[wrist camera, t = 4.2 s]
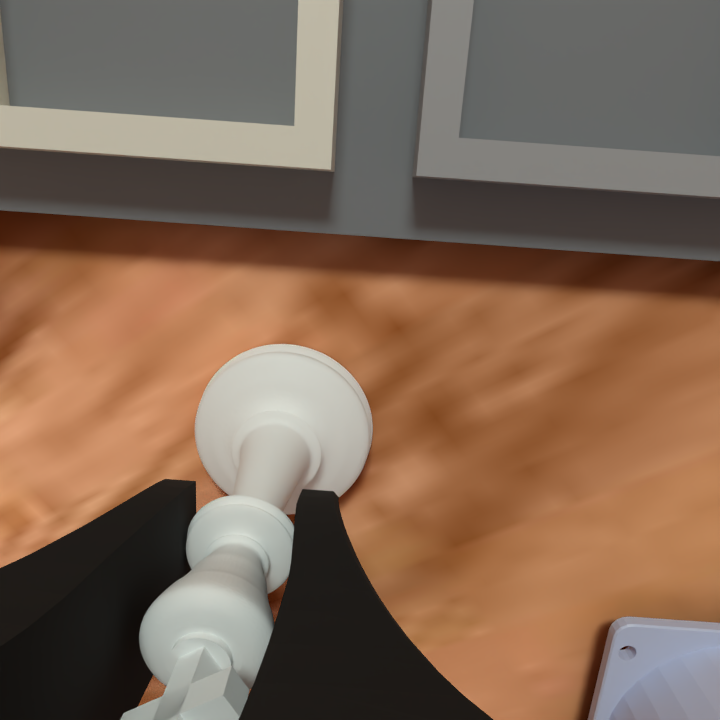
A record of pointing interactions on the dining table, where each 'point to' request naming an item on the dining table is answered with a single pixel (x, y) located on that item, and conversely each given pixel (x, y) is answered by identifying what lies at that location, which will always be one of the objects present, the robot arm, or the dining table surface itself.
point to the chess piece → (249, 521)
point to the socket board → (372, 118)
